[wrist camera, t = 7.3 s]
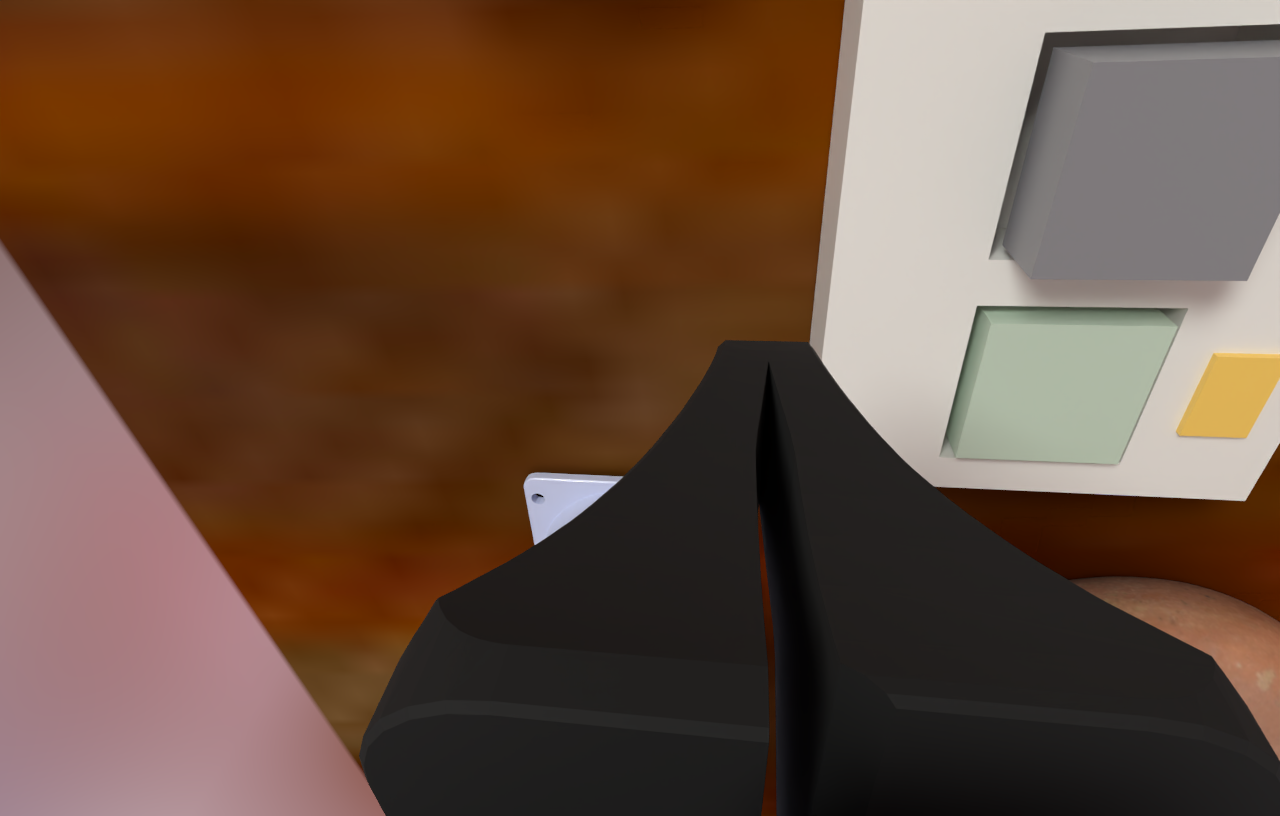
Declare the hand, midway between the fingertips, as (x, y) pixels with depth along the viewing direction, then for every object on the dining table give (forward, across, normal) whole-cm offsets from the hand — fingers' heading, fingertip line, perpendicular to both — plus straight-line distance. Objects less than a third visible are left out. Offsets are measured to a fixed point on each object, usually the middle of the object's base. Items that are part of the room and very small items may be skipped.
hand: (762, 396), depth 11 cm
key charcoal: (+8, -8, -2) cm, 11 cm away
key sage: (+9, -8, +4) cm, 13 cm away
